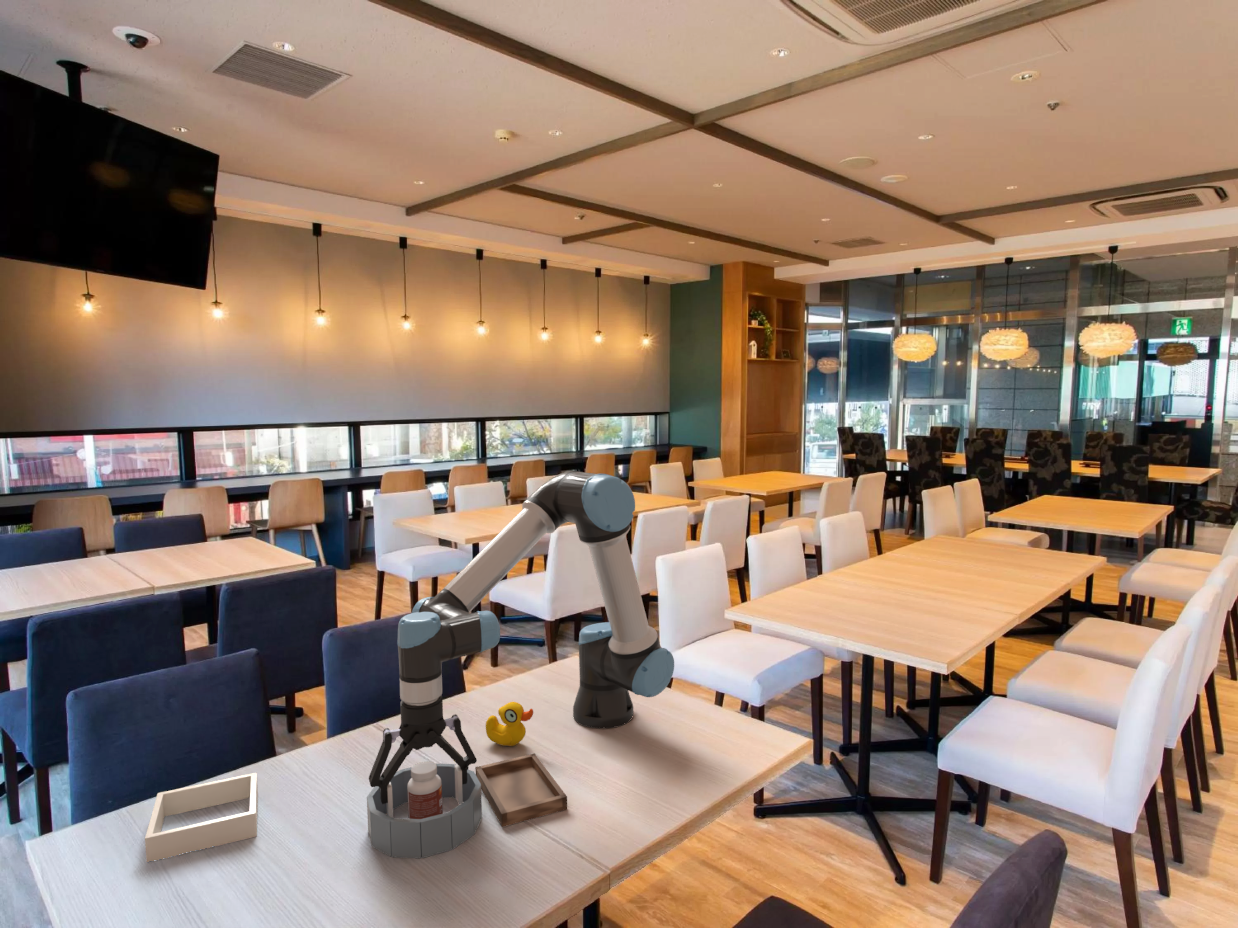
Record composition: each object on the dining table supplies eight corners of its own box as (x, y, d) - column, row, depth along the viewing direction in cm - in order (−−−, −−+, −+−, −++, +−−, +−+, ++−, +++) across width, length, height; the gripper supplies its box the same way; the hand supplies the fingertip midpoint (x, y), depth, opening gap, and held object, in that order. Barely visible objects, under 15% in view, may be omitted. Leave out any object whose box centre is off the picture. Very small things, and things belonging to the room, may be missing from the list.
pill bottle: (447, 826, 134) (445, 769, 133) (415, 837, 131) (412, 779, 130) (436, 810, 139) (434, 755, 138) (404, 821, 136) (402, 764, 135)
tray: (534, 764, 156) (534, 753, 156) (567, 809, 139) (567, 796, 139) (475, 778, 151) (475, 767, 150) (502, 826, 134) (501, 813, 133)
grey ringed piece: (465, 785, 148) (464, 754, 148) (492, 837, 130) (491, 803, 130) (363, 810, 140) (362, 778, 139) (377, 870, 122) (375, 833, 121)
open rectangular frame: (258, 793, 146) (256, 772, 145) (256, 836, 132) (255, 812, 131) (159, 815, 139) (157, 792, 138) (146, 862, 124) (144, 838, 124)
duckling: (537, 740, 167) (536, 699, 166) (530, 752, 162) (529, 709, 161) (491, 737, 169) (489, 696, 168) (482, 747, 164) (481, 705, 163)
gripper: (480, 678, 141) (483, 783, 143) (349, 702, 131) (354, 815, 133) (491, 692, 135) (494, 802, 137) (353, 718, 124) (359, 837, 126)
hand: (425, 809), depth 135 cm, fingers open, 12 cm apart
